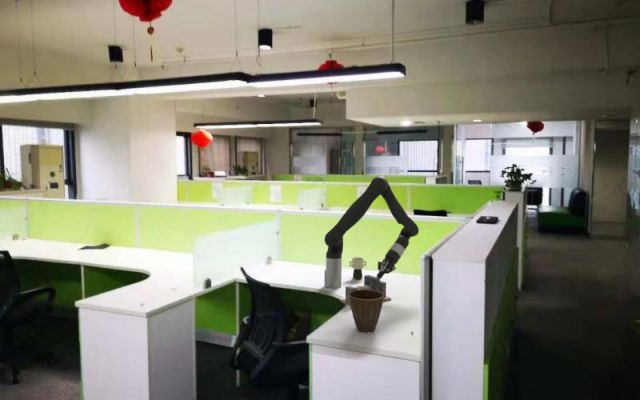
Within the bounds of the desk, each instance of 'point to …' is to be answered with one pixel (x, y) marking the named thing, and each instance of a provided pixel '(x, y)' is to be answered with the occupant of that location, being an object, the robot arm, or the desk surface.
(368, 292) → the plant pot
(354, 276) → the trophy cup
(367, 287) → the pipe stand
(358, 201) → the robot arm
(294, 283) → the desk surface
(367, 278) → the gray notched block
